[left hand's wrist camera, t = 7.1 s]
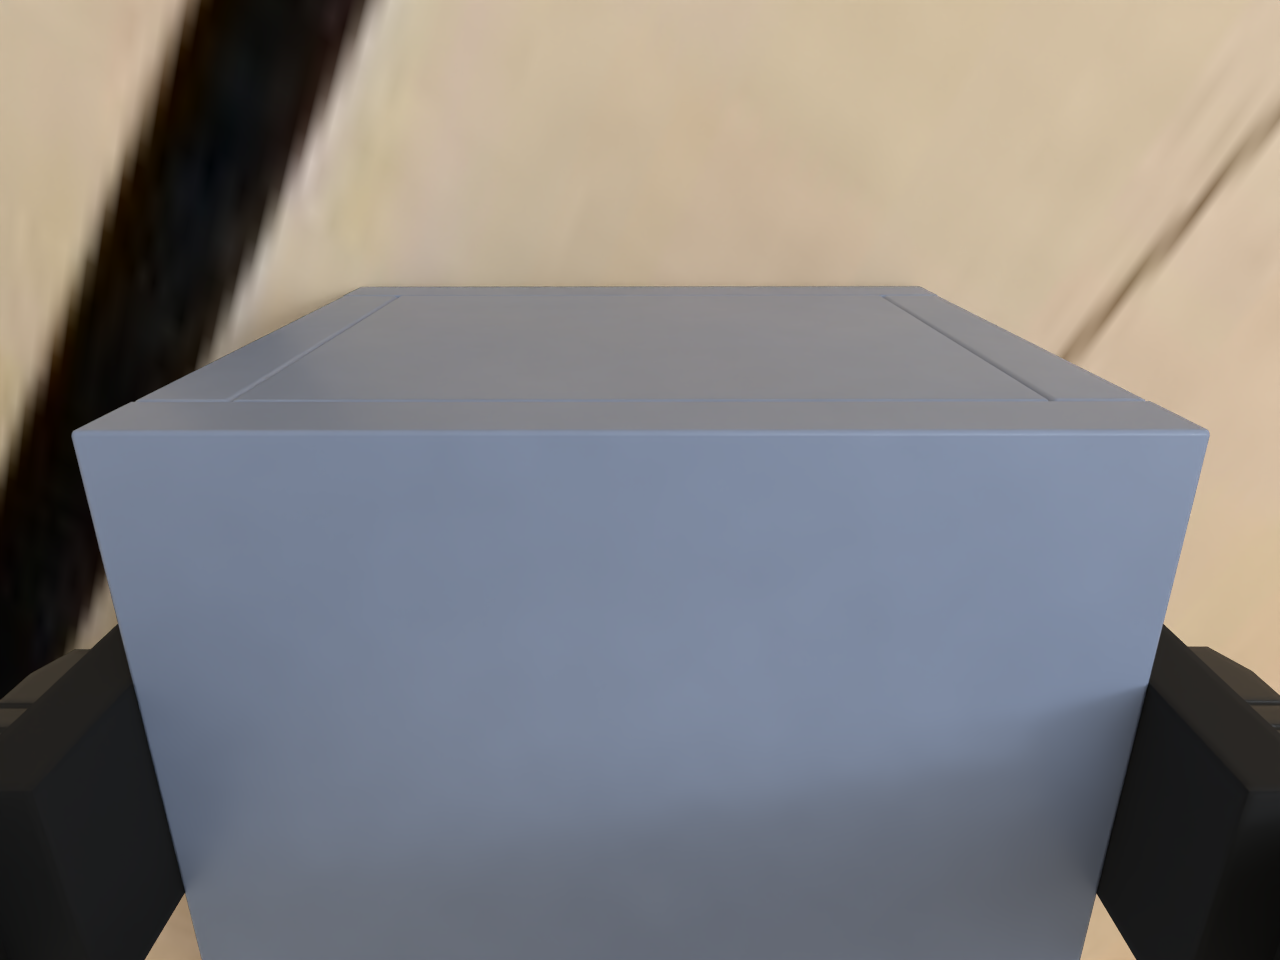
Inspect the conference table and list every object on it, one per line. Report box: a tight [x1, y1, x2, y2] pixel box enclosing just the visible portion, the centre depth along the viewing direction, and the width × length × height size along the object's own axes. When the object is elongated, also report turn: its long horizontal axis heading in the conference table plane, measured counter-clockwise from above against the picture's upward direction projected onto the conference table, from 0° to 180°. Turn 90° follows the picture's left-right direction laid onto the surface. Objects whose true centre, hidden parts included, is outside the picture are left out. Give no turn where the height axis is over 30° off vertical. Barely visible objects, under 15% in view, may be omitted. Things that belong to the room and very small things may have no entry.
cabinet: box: [72, 287, 1210, 960], centre depth 15 cm, size 22×10×8 cm, turn 0°
